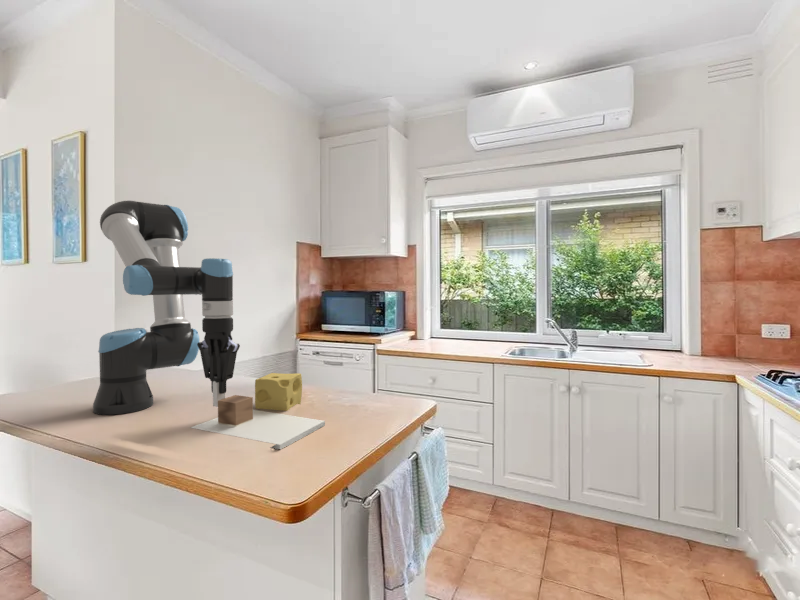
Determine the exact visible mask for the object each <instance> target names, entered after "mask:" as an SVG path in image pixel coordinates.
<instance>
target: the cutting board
mask: <svg viewBox="0 0 800 600" xmlns="http://www.w3.org/2000/svg"><path fill="white" fill-rule="evenodd" d="M325 425H326V420H320V419H315V418H308V417H302V416H295V415H290V414H283V413H277V412H271V411H266V410H265V411H264V410H259V409H253V420H251V421H248V422H246V423H244V424H241V425H239V426H236V427H235V426H229V425H224V424H218V417H215V418H213V419H210V420H207V421H204V422H202V423H199V424H196V425H194V426H190V428H191V429H196V430H201V431H206V432H209V433H210V432H211V433H216V434H221V435H227V436H231V437H238V438H241V439H247V440H253V441H258V442H262V443H268V444H274V445H273V446H270V447H269V448H270V449H273V448H275V449H274V450H278V449H281V450H283V449H284V447H285V448H287V447H289V446H290V445H292V444H294V443H296V442H297V441H299V440H301V439H302V438H304V437H307V436H308V435H310V434H312V433H313V432H315V431H317V430H319V429H321V428H323V427H325ZM295 441H296V442H295ZM286 446H287V447H286ZM282 448H283V449H282Z"/></svg>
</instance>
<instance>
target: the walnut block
mask: <svg viewBox="0 0 800 600" xmlns="http://www.w3.org/2000/svg"><path fill="white" fill-rule="evenodd" d="M253 399H254V398H253V397H252V396H244V395H239V394H234V395H231V396H228V397H225V398H224V399H221V400H218V407H217V418H218V424H224V425H229V426H235V427H236V426H239V425H241V424H244V423H246V422H248V421H251V420H253V410H254V407H253V406H254V400H253Z"/></svg>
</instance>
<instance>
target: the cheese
mask: <svg viewBox="0 0 800 600" xmlns="http://www.w3.org/2000/svg"><path fill="white" fill-rule="evenodd" d="M302 378H303V376H302V373H296V372H295V373H275V372H271V373H268V374H266V375H263V376H261V377H259V378H256V379H255V381H254V405H255V410H259V409H260V410H270V411H271V410H272V411H273V410H274V411H283V412H284V411H285V412H288V411H289V410H290V409H291V408H293V407H294V406H297V405H301V403H302V395H303V394H302V393H303V379H302Z"/></svg>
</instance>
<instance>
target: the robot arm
mask: <svg viewBox="0 0 800 600" xmlns="http://www.w3.org/2000/svg"><path fill="white" fill-rule="evenodd" d="M187 219H188V218H187V216H186V214H185V213H184V211H183V210H182V209H181V208H180V207H177V206H172V205H168V204H159V203H151V202H145V201H136V200H121V201H117V202H115V203H112V204H111V205H109V206H108V207H106V208H105V210H104V211H103V212H102V214H101V215H100V219H99V225H100V230H101V232H102V234H103V236H104V237H106V239H108V240H109V241H111V242H112V243H113V246H114V248H115V249H116V251H117V253H118V255H119V257H120V259H121V260H122V262H123V265H124V266H125V268H124V270H123V274H122V284H123V288H124V289H123V290H124V291H125V293H127V294H129V295H130V296H131V295H132V296H133V295H134V296H135V295H136V296H152V301H153V302H152V304H153V312H154V322H153V324H151V325H150V327H149V329H150V330H149V331H148V332H147V330H146V329H145V328H144V327H133V328H126V329H119V330H115V331H111V332H106V333H105V334H103V335H101V337H100V338H99V343H98V344H99V346H98V351H97V352H98V354H99V356H98V357H99V361H98V362H99V387H98V390H97V393H96V395H95V398H94V400H93V403H92V411H93V413H94V414H97V415H102V416H103V415H104V416H105V415H106V416H107V415H109V416H110V415H121V414H130V413H134V412H139V411H142V410H145V409H147V408H149V407H152V406H153V405H154V395H153V393H152V390H151V387H150V385H149V383H148V380H147V371H148V370H156V369H157V370H158V369H165V368H171V367H172V368H173V367H181V366H185V365H189V364H192V363H193V362H194V361H195V359H196V358H197V356H198V353H200V357H201V362H202V366H203V367H202V368H203V374H204V377H205V379H209V380H210V382H211V393H212V406H213V407H217V408H218V400H221V399H224V398H226V393H227V381H228V380H230V379H232V378H233V377H234V376H233V375H234V373H235V372H234V371H235V366H236V359H237V355H238V354H237V353H238V351H239V349H240V347H241V346H240V343H235V342H234V340H233V336H232V332H233V330H234V318H233V317H232V316H233V315H234V299H233V297H234V296H233V295H234V294H233V293H234V292H233V291H234V290H233V288H234V287H233V286H234V283H233V282H234V281H233V279H234V272H233V262H232V261H231V260H230V259H228V258H214V257H213V258H203V259H202V260H201V265H200V266H201V267H194V266H193V267H192V266H181V264H180V255H179V249H180V248H181V247H182V246H183V245H184V242H185V241H186V240H187V239H188V234H189V224H188V220H187ZM184 295H195V296H197V295H201V308H202V312H201V313H202V314H201V315H202V316H203V317H204V318H202V320H201V321H202V323H201V325H202V332H203V333H205V334H204V337H203V340H202V341H200V335H199V331H198V330H197V329H196V328H193V327H192V325H191V322H190V321H189V320H188V319H186V317H185V306H184V297H183V296H184Z"/></svg>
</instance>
